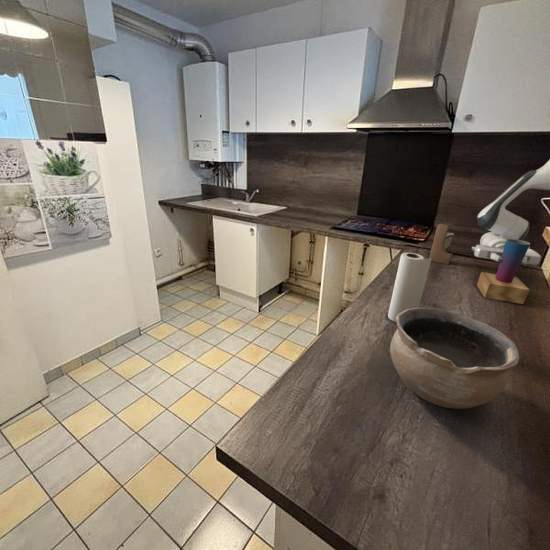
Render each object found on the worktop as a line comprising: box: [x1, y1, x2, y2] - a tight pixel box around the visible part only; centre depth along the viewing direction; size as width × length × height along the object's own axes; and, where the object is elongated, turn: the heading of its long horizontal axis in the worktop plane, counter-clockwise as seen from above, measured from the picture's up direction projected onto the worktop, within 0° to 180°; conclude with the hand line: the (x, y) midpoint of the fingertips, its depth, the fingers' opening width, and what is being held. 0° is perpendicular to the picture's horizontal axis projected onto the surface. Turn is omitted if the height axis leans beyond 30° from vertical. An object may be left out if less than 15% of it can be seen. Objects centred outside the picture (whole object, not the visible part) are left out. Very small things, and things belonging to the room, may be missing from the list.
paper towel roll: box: [387, 252, 432, 323], centre depth 88 cm, size 7×6×21 cm
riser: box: [476, 271, 530, 305], centre depth 110 cm, size 12×12×6 cm
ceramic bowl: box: [389, 307, 520, 410], centre depth 63 cm, size 22×22×15 cm
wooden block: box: [428, 223, 453, 265], centre depth 139 cm, size 9×4×18 cm, turn 53°
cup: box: [496, 239, 531, 283], centre depth 106 cm, size 7×7×15 cm
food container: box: [444, 232, 455, 252], centre depth 156 cm, size 12×6×10 cm, turn 130°
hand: (512, 260), depth 105 cm, fingers closed on cup, 6 cm apart
